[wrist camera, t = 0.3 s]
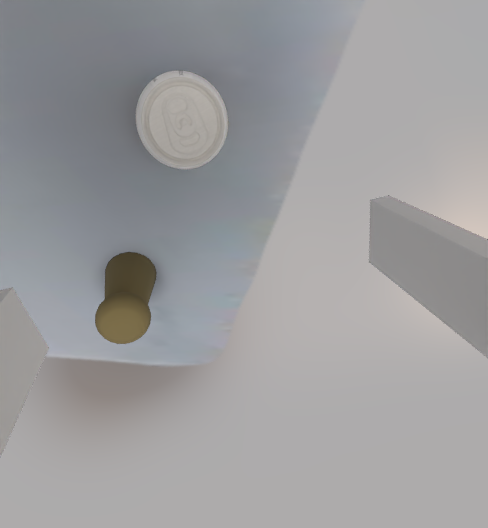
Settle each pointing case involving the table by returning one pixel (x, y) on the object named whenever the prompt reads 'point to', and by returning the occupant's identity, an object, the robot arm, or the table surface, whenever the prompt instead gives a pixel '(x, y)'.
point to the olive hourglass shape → (126, 298)
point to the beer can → (181, 120)
